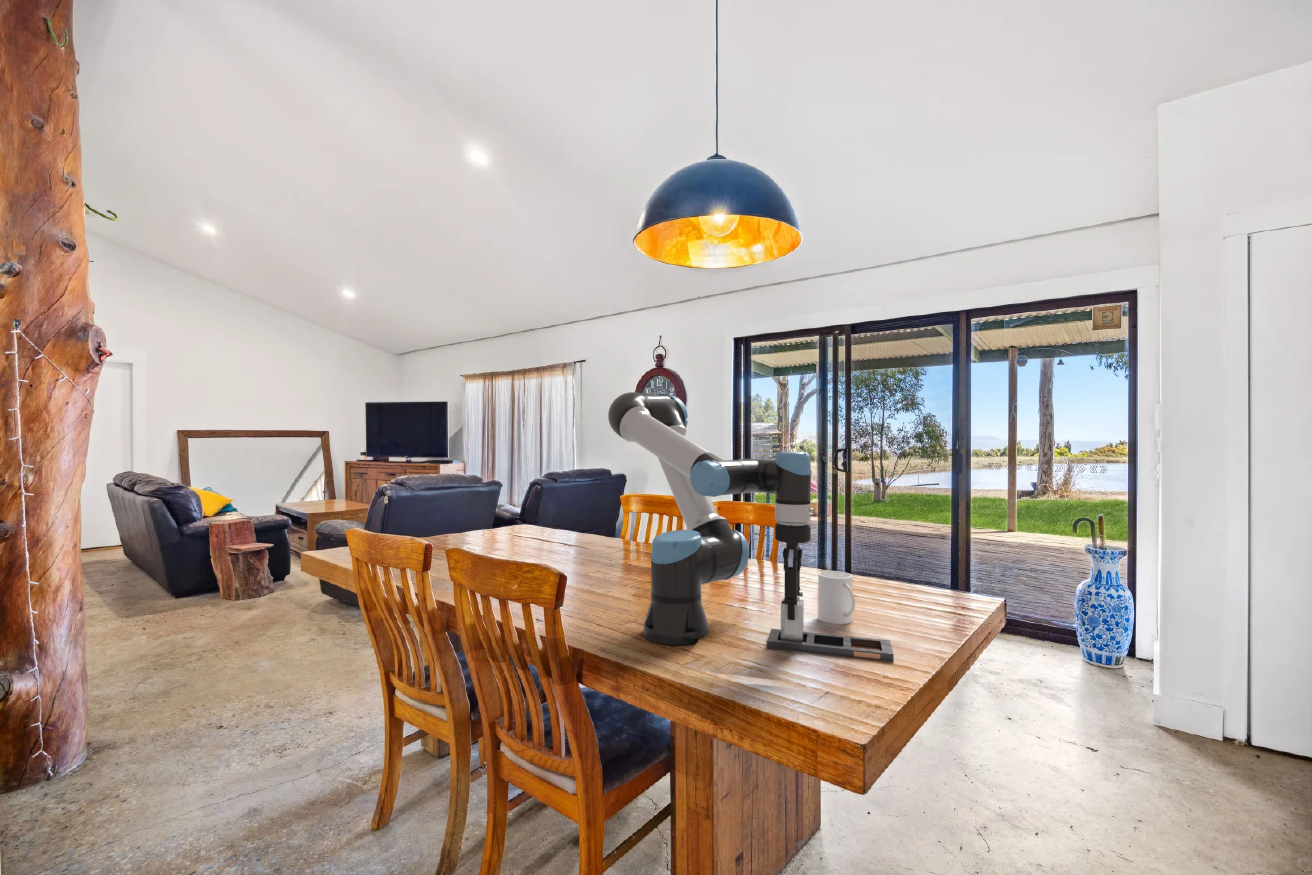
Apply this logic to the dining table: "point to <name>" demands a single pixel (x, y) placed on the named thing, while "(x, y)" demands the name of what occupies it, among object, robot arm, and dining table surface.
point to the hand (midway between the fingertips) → (792, 629)
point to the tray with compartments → (835, 645)
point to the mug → (835, 597)
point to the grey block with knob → (800, 623)
